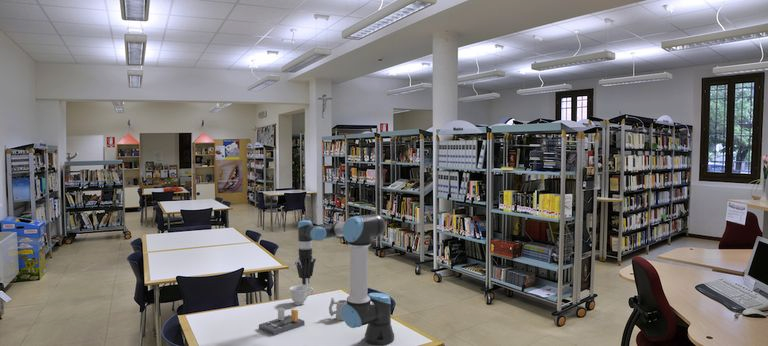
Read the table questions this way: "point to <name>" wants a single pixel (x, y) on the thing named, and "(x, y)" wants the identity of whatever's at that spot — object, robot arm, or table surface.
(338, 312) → the mug
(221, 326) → the table surface
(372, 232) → the robot arm
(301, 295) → the teacup
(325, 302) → the table surface
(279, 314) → the fader white
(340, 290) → the table surface
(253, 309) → the table surface
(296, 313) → the fader orange
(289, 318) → the console
